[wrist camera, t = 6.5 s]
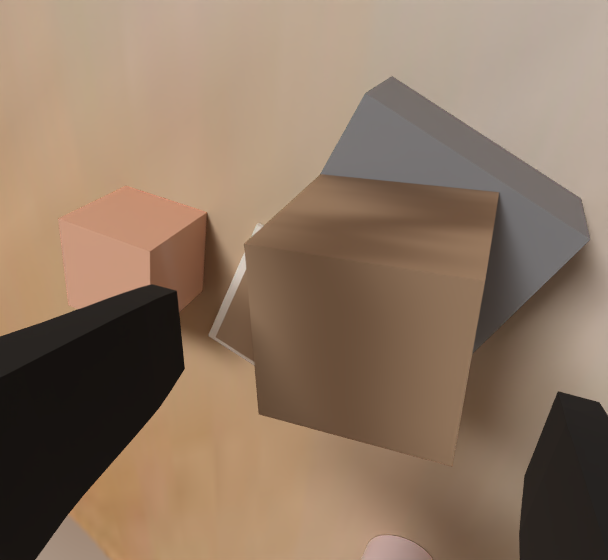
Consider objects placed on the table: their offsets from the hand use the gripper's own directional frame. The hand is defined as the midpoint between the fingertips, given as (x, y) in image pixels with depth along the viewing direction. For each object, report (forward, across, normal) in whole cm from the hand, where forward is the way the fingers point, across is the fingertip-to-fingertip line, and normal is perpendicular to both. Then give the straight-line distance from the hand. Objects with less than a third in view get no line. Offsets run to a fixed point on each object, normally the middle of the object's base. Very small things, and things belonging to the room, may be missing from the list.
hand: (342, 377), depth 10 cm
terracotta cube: (+10, +11, +4) cm, 15 cm away
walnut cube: (+7, 0, +1) cm, 7 cm away
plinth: (+10, 0, +1) cm, 10 cm away
